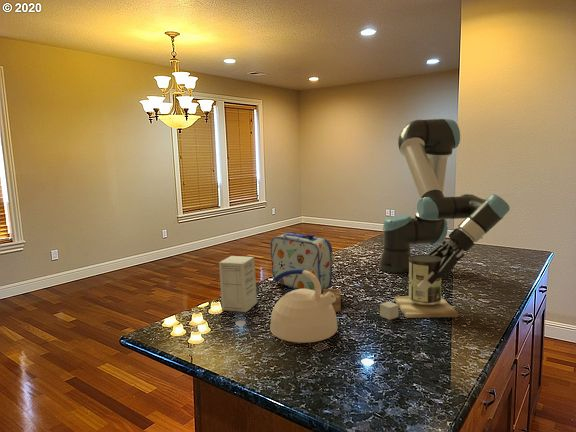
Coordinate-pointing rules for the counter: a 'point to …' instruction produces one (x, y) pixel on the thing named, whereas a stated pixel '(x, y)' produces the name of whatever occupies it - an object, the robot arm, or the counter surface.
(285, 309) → the kettle
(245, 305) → the supplement box
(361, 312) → the counter surface
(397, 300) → the maple board
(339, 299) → the walnut block
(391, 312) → the beige tilted cube
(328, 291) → the oak block
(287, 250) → the lunch box
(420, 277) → the coffee can
